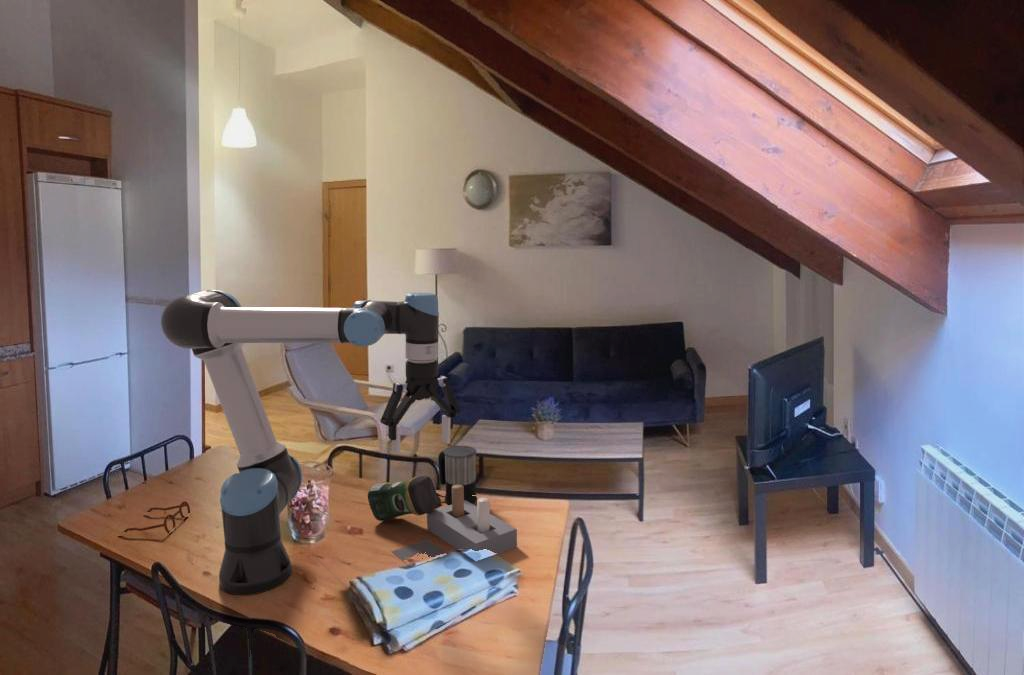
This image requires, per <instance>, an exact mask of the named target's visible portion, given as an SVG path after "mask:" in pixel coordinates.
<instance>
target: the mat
mask: <svg viewBox="0 0 1024 675" xmlns="http://www.w3.org/2000/svg"><path fill="white" fill-rule="evenodd" d="M425 552H426V553H425ZM391 553H392V554H393V555H395V556H396V557H397V558H399V559H400V560H401V561H402V562H403V561H404V560H406V559H407V558H409V557H410V558H411V557H413V556H414V555H416V554H417V553H419V554H421V553H422V554H424V553H425V554H427V555H428V557H430V556H431V557H435V556H436V555H440V554H444V553H447V551H444V550H443V549H441V547H439V546H438V545H436V544H435V543H433V542H431V541H430V540H429V539H424V540H422V541H418V542H415V543H413V544H410V545H407V546H404V547H401V548H397V549H395V550H392V551H391ZM419 554H418V555H419ZM418 555H417V556H418ZM406 557H407V558H406ZM405 558H406V559H405ZM422 559H423V558H422ZM408 560H409V559H408Z"/></svg>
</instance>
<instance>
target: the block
mask: <svg viewBox="0 0 1024 675" xmlns="http://www.w3.org/2000/svg"><path fill="white" fill-rule="evenodd" d="M426 524H427V525H426V526H427V527H426V528H427V529H426V530H428V531H429V532H431V533H432V534H434V535H435V536H436V537H438V538H440V539H441V540H442V541H444V542H446V543H447V544H449V545H450V546H451V547H453V548H454V549H456V550H457V549H472V550H474V551H479V550H483V549H487V550H490V551H492V552H494V553H497V555H500V554H502V553H505V552H507V551H510V550H512V549H516V548H518V534H517V533H518V529H517V528H516V527H515V526H512V525H511V524H509V523H508V522H505V521H504V520H502V519H500V518H498V517H497V516H495V515H493V514H491V513H490V531H488V532H485V533H482V534H480V533H479V532H477V505H475V504H474V503H473V504H472V503H470V502H468V501H466V500H465V501H464V486H463V485H454V486H452V505H449V504H448V505H446V506H443V507H439V508H435V509H434V510H433V511H431V512H429V513H426ZM504 551H505V552H504ZM499 553H500V554H499Z"/></svg>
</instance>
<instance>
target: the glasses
mask: <svg viewBox="0 0 1024 675" xmlns="http://www.w3.org/2000/svg"><path fill="white" fill-rule="evenodd" d="M184 507H186V509H187V514H188V513H190V514H191V509H190V508H191V507H190V504H189V503H188V502H187V501H185V500H184V501H181V503H180V504H179V505H178V504H177V505H173V506H169V507H158V506H156V507H151V508H149V509H148V510H147V511H146V512H150V513H151V512H152V511H153V510H155V511H156V510H160V511H168V510H169V511H170V510H174V509H178V510H177V511H175V513H173V514H167V515H166V516H165V517H164V519H163V523H159V524H155V525H151V526H145V527H127V528H126V529H124V531H122V532H126V533H127V532H128V531H137V532H142V531H148V530H153V529H157V528H162V527H164V530H165V532H166V533H167V534H168V533H169V532H170V531H171V530H169V528H168V524H167V521H168V519H169V518H170V519H171V521H172V529H173V528H174V527H175V526H176V520H175V518H176V517H177V515H180V518H185V517H186V516H185V515H184V514H183V508H184ZM175 528H176V527H175Z"/></svg>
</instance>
